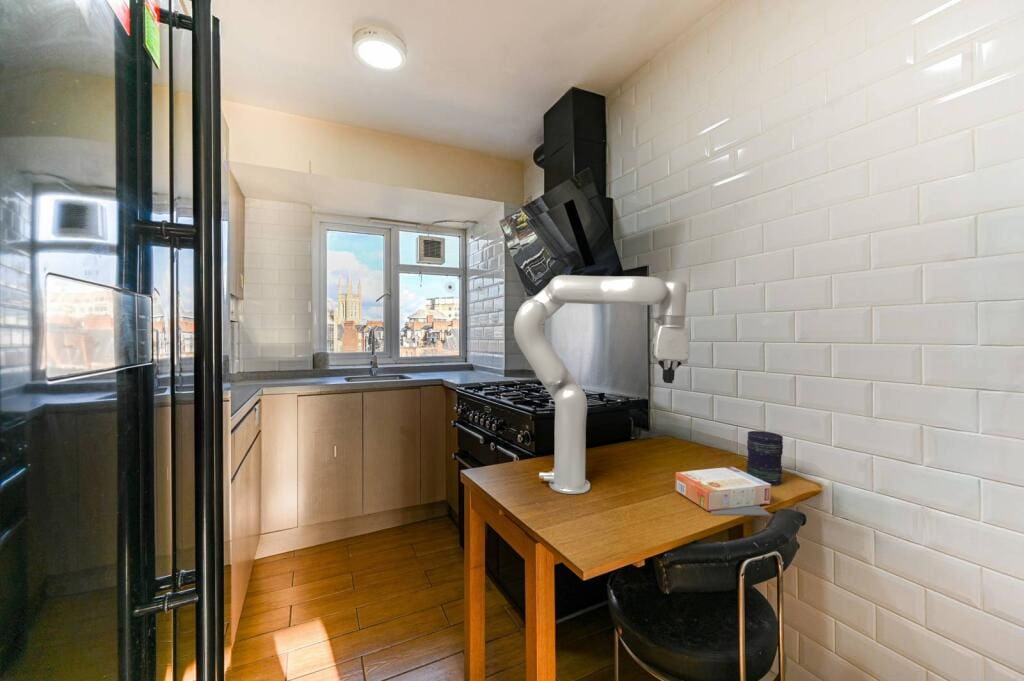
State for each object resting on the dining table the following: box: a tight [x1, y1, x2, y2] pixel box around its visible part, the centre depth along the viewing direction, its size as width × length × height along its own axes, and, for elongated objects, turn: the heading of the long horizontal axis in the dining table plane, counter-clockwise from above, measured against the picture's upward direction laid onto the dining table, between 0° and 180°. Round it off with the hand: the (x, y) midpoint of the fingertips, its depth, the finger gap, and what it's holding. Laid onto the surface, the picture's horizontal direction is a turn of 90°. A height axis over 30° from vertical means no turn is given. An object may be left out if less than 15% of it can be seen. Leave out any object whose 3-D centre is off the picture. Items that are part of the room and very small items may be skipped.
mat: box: [709, 505, 771, 517], centre depth 113 cm, size 15×14×1 cm
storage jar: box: [745, 430, 784, 487], centre depth 130 cm, size 10×10×15 cm
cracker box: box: [674, 466, 772, 512], centre depth 116 cm, size 14×6×21 cm
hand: (668, 382), depth 122 cm, fingers closed
